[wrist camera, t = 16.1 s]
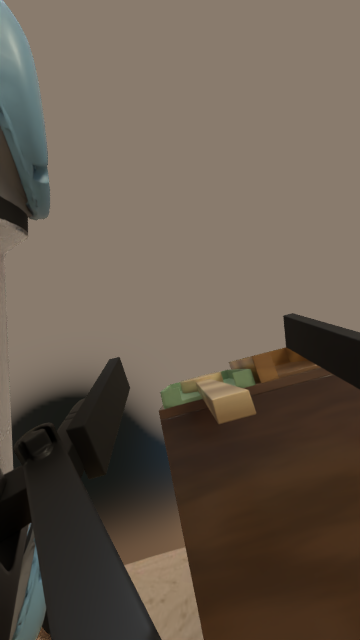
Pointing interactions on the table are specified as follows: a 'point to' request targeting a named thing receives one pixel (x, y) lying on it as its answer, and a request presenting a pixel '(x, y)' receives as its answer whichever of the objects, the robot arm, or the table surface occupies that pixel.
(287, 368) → the brown wooden open box
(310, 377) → the stand
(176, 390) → the tray
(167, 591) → the table surface
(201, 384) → the spoon
